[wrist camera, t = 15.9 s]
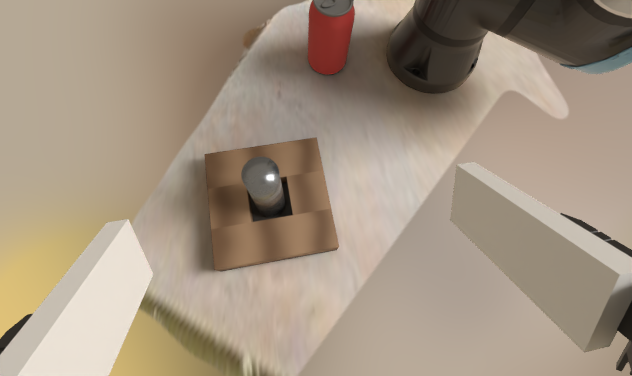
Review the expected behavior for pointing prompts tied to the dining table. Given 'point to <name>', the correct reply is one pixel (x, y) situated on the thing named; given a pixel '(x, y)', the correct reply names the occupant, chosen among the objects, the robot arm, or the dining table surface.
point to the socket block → (258, 230)
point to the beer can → (329, 34)
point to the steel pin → (264, 185)
